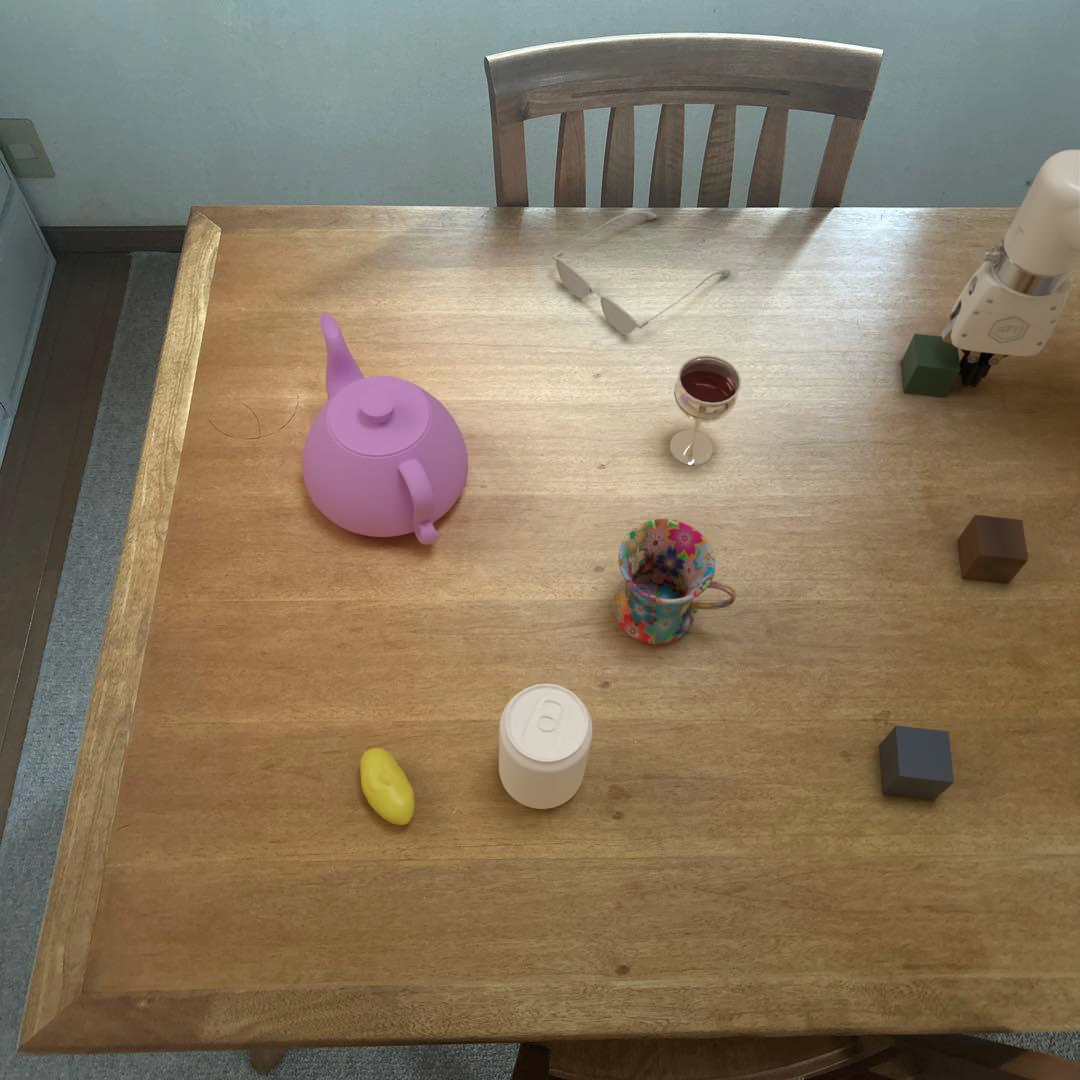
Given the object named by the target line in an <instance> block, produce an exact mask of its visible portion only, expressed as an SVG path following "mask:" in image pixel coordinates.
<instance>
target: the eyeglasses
mask: <svg viewBox="0 0 1080 1080" xmlns="http://www.w3.org/2000/svg"><path fill="white" fill-rule="evenodd" d="M630 215H642V216H644V217H645V219H646V220H648V221H653V220H655V219H657V218H658V215H657V214H656V213H653V212H652V211H644V210H643V211H642V210H641V211H640V210H639V211H630V212H626V213H623V214H619V215H618V216H616V217H614V218H612V219H610V220H609V221H608V222H606V223H604V224H602V225H601V226H599V227H597V228H595V229H594V230H592V231H591V232H589V233H588V234H586V235H585V236H583V237H581V238H579V239H578V240H577V241H575V242H574V243H573V244H571V245H570V246H568V247H567V248H565V249H564V250H559V251H558V252H557V253H555V254H553V255H552V259H553V260H554V261H555V263H556V264H555V265H556V268H557V272H558V275H559V278H560V280H561V283H562V284H563V285H564V287H565V288H566V289H567V290H568V291H569V292H570V293H571V294H572V295H574V296H575V297H577V298H579V299H584V298H585V297H587V296H588V295H589V294H592V292H593V293H594V294H596V295H597V296H598V297H600V305H601V309H602V312H603V316H604V318H605V320H606V321H607V322H608V324H610V325H611V327H613V328H614V329H615V330H616V331H618V332H619V333H621V334H622V335H626V336H627V335H630V334H631V333H632V332H634V331H635V329H636V328H637V329H638V330H641V329H642V328H644V327H645V326H647V325H649V322H651V320H653V319H656V317H658V316H659V315H661V314H663V313H664V312H666V311H667V310H669V309H670V308H671V307H673V306H675V305H676V304H677V303H679V302H680V301H682V300H683V299H685V298H686V297H687V296H689V295H690V294H692V293H693V292H694V291H695V290H698V288H699V287H701V286H702V285H703V284H704V283H705V282H706V281H708V280H709V279H711V278H712V277H714V276H716V275H721V276H722V277H723V278H726V277H727V276H729V275H730V274H731V269H728V268H724V269H720V270H717V271H715V272H713V273H711V274H710V275H708V276H707V277H706V278H704V279H703V280H702V281H701V282H700V283H698V284H697V285H696V286H695V287H694V288H693V289H692V290H690V291H689V292H688V293H686V294H685V295H684V296H683V297H681V298H680V299H678V300H677V301H676V302H674V303H673V304H671V305H669V306H668V307H667V308H665V309H663V310H662V311H660V312H659V313H657V314H656V315H655V316H653V317H651V318H650V319H646V320H644V321H643V322H641V323H640V322H638V321H636V319H635V318H634V317H633V316H632V315H631V314H629V312H627V310H625V309H624V308H623V307H621V306H620V305H619V304H617V303H616V302H615V301H613V300H612V299H611V298H609V297H607V296H605V295H602V294H601V292H600V291H599V290H598V289H596V288H594V287H593V286H591V285H590V284H589V282H588V281H587V279H586V278H585V277H584V276H583V275H581V274H580V273H579V272H578V271H577V270H576V269H574V268H573V267H572V266H571V265H570V264H569V263H567V262H566V261H565V260H563V259H561V258H560V257H561V256H563V254H564V253H565V252H566V251H568V250H569V249H570V248H571V247H573V246H575V245H576V244H577V243H579V242H580V241H582V240H583V239H585V238H586V237H589V235H591V234H592V233H594V232H596V231H597V230H599V229H601V228H602V227H604V226H606V225H608V224H609V223H612V222H614V221H616V220H618V219H620V218H623V217H626V216H630Z"/></svg>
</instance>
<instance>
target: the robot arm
mask: <svg viewBox="0 0 1080 1080" xmlns="http://www.w3.org/2000/svg"><path fill="white" fill-rule="evenodd" d="M1079 259H1080V149H1066V150H1062V151H1058V152H1057V153H1055V154H1053V155H1051V156H1050V157H1048V159H1046V161H1044V163H1043V164H1042V166H1041V167H1040V169H1039V170H1038V172H1037V174H1036V176H1035V178H1034V180H1033V181H1032V184H1031V186H1030V187H1029V190H1028V191H1027V193H1026V195H1025V198H1023V201H1022V203H1021V205H1020V207H1019V208H1018V211H1017V213H1016V215H1015V217H1014V218H1013V220H1012V222H1011V224H1010V226H1009V227H1008V230H1007V232H1006V233H1005V235H1004V238H1001V239H1000V241H999V243H998V245H997V246H996V247H992V248H984V250H983V251H982V256H981V261H982V262H983V263H982V264H981V265H980V266H979V267H978V269H977V270H976V271H975V272H974V273H973V275H972V276H971V277H970V279H969V280H968V282H967V283H966V285H965V286H964V288H963V289H962V291H961V293H959V295H958V297H957V299H956V301H955V303H954V305H953V307H952V309H951V310H950V313H949V315H948V316H949V317H948V318H949V323H947V325H946V326H945V327H944V328H943V329H942V330H941V332H940V333H941V337H942V342H944V343H947V344H950V345H954V346H955V347H957V348H958V350H959V349H960V351H961V352H962V353H963V355H962V357H961V358H960V360H959V361H960V372H959V374H958V376H960V377H961V386H962V387H968V386H970V387H971V388H977V387H978V385H979V384H980V382H981V381H982V379H984V378H985V379H986V376H987V375H988V373H989V371H990V369H991V368H992V366H997V365H998V364H999V363H1001V361H1002V360H1003V359H1004V358H1008V357H1010V356H1014V357H1015V356H1016V357H1033V356H1035V355H1037V354H1039V353H1041V352H1042V350H1043V349H1044V348H1045V346H1046V344H1047V343H1048V341H1049V339H1050V338H1051V335H1052V333H1053V332H1054V330H1055V327H1056V325H1057V324H1058V321H1059V318H1060V317H1061V314H1062V312H1063V310H1064V306H1065V304H1066V301H1067V299H1068V295H1069V292H1070V288H1071V283H1070V279H1069V275H1070V274H1071V273H1072V271H1073V269H1074V267H1075V266H1076V265H1077V263H1078V261H1079Z"/></svg>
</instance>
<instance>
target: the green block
mask: <svg viewBox="0 0 1080 1080" xmlns="http://www.w3.org/2000/svg"><path fill="white" fill-rule="evenodd" d="M960 361H961V360H960V355H959V348H957V347H955V346H954V345H950V344H947V343H944V342H942V335H941V336H939V335H931V334H922V333H914V334H913V336H912V338H911V339H910V342H909V344H908V346H907V349H906V351H905V353H904V355H903V356H902V359H901V361H900V363H901V364H900V365H901V377H902V386H903V387H902V389H903V393H904V394H911V395H921V396H928V397H938V398H946V397H947V396H948V394H949V392H950V390H951V389H952V387H953V384H954V383H955V381H956V379H957V378H958V376H959V375H958V374H959V372H960Z"/></svg>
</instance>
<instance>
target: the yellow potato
mask: <svg viewBox="0 0 1080 1080" xmlns="http://www.w3.org/2000/svg"><path fill="white" fill-rule="evenodd" d="M359 763H360V764H359V771H360V785H361V789H362V792H363V795H364V797H365V798H366V799H365V800H366V801H367V802H368V804H369V805H370V807H372V809H373V810H374V811H375V813H377V814H378V815H379V816H380V817H381V818H383V819H384V820H385V821H387V822H388V823H390V824H393V825H396V826H397V825H398V826H405V825H407V824H409V823H410V821H411V820H412V818H413V816H414V812H415V792H414V789H413V787H412V785H411V784H410V782H409V780H408V778H407V774H406V773H405V772H404V770H403V769H402V768H401V767H400V765H399V764H398V762H397V760H396V759H395V757H394V755H393V754H391V753H390V751H388V750H387V749H385V748H381V747H374V748H370V749H368V750H366V751H365V752H364V753H363V754H362V757H361V758H360V762H359Z"/></svg>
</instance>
